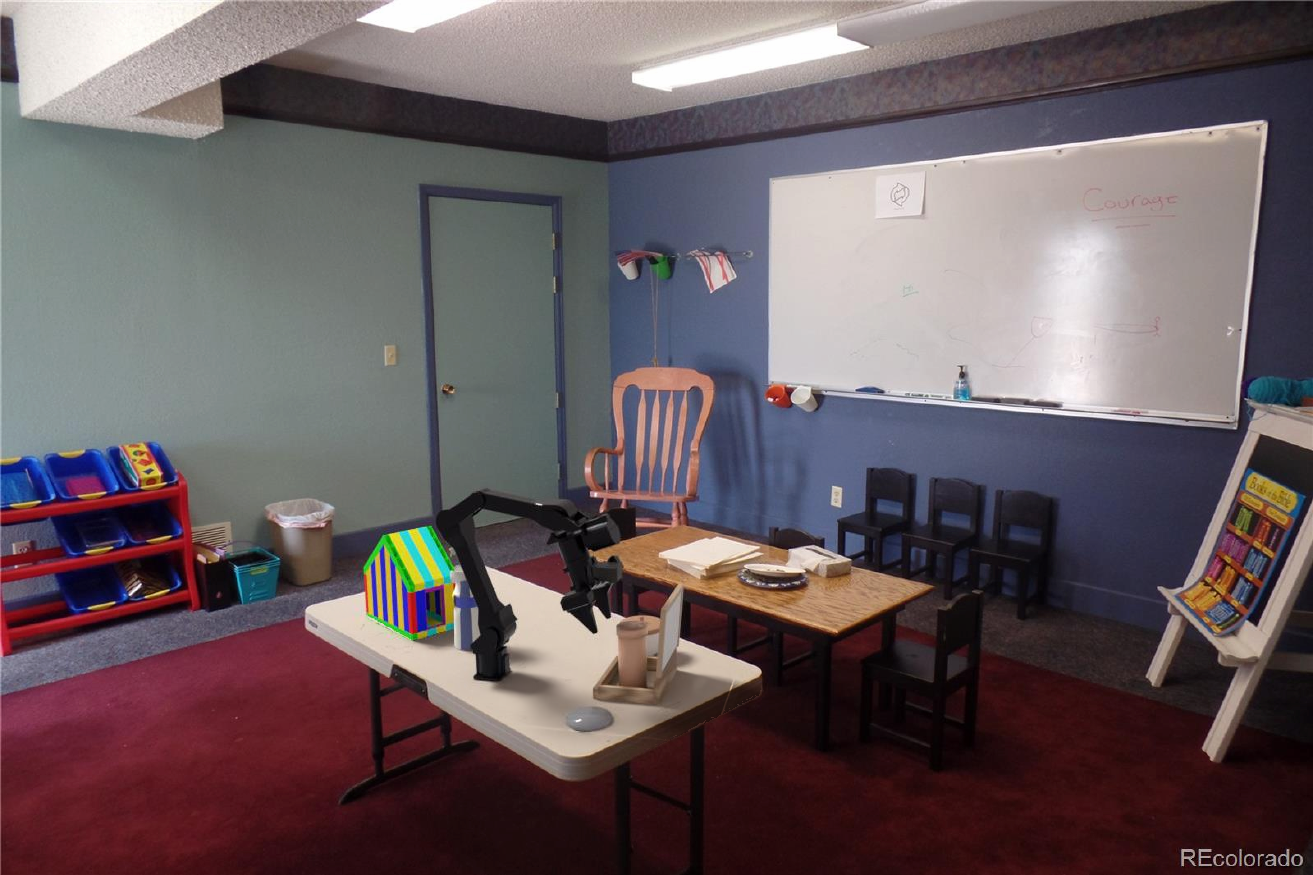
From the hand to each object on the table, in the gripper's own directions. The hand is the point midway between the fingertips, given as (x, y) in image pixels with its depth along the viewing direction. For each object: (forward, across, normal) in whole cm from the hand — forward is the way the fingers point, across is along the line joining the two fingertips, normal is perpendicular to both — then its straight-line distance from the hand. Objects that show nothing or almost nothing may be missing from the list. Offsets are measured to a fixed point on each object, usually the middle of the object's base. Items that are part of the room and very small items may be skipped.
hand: (602, 625), depth 186 cm
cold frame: (+15, +2, -2) cm, 15 cm away
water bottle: (-1, +16, +42) cm, 45 cm away
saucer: (+13, -17, +2) cm, 21 cm away
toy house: (-8, +27, +63) cm, 69 cm away
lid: (+12, +2, -10) cm, 16 cm away
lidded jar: (+14, +19, +2) cm, 24 cm away
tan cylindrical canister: (+15, -1, -2) cm, 15 cm away
